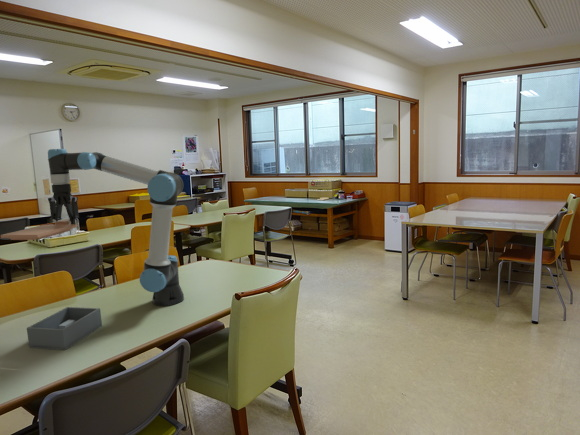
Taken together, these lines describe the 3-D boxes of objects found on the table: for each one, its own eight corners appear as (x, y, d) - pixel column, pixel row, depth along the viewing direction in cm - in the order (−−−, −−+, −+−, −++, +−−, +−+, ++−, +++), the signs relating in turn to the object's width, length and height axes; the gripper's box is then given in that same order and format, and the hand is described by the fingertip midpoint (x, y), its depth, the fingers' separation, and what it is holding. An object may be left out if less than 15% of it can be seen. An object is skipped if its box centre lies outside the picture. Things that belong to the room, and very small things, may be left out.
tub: (102, 326, 178) (100, 308, 177) (65, 350, 157) (62, 330, 156) (69, 324, 182) (67, 306, 180) (29, 347, 160) (26, 328, 159)
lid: (87, 226, 191) (86, 219, 191) (38, 240, 162) (36, 231, 161) (55, 227, 194) (54, 219, 193) (1, 240, 165) (0, 232, 164)
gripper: (84, 182, 188) (90, 232, 192) (49, 183, 191) (55, 232, 195) (73, 183, 181) (79, 235, 184) (36, 184, 184) (43, 236, 188)
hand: (67, 234), depth 190 cm, fingers closed on lid, 5 cm apart
